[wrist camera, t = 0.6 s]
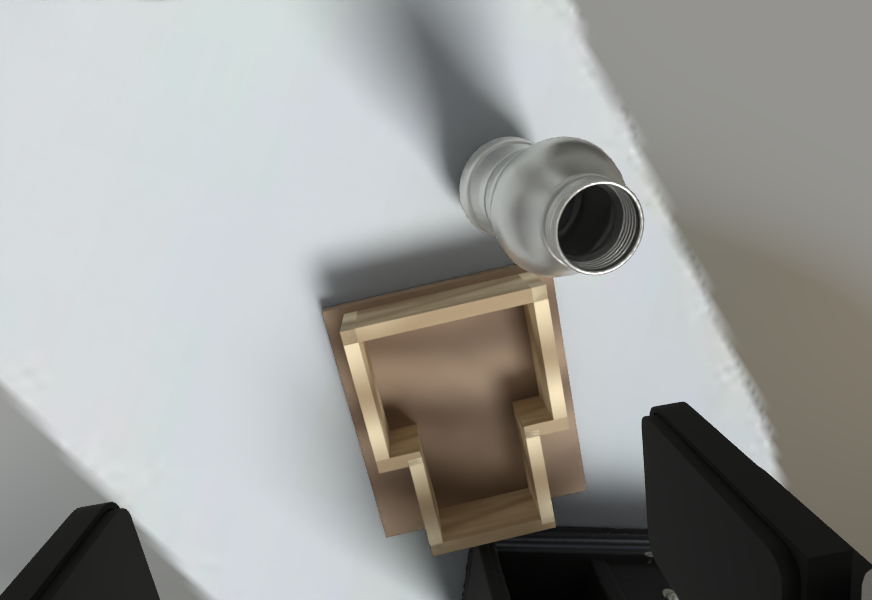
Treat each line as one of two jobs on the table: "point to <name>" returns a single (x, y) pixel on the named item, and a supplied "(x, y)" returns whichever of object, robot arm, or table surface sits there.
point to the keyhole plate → (461, 405)
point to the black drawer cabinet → (567, 567)
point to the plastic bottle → (552, 205)
